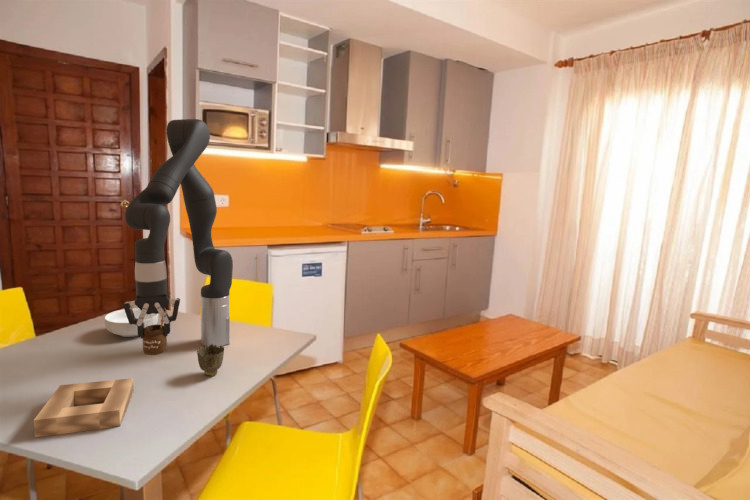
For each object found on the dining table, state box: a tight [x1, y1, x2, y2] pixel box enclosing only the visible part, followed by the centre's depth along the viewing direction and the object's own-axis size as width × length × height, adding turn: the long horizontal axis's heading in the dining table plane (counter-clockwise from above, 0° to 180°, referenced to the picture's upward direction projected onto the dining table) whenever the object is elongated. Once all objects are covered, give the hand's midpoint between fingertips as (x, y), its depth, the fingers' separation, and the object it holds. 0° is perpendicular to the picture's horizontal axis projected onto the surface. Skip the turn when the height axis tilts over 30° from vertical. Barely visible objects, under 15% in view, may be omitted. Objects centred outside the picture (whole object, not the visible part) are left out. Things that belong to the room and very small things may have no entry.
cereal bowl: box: [104, 307, 159, 338], centre depth 149 cm, size 17×17×7 cm
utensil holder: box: [142, 310, 168, 356], centre depth 115 cm, size 6×6×12 cm
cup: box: [196, 344, 225, 377], centre depth 122 cm, size 8×7×8 cm
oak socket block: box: [33, 377, 134, 438], centre depth 99 cm, size 16×16×4 cm
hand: (154, 336), depth 115 cm, fingers closed on utensil holder, 5 cm apart
